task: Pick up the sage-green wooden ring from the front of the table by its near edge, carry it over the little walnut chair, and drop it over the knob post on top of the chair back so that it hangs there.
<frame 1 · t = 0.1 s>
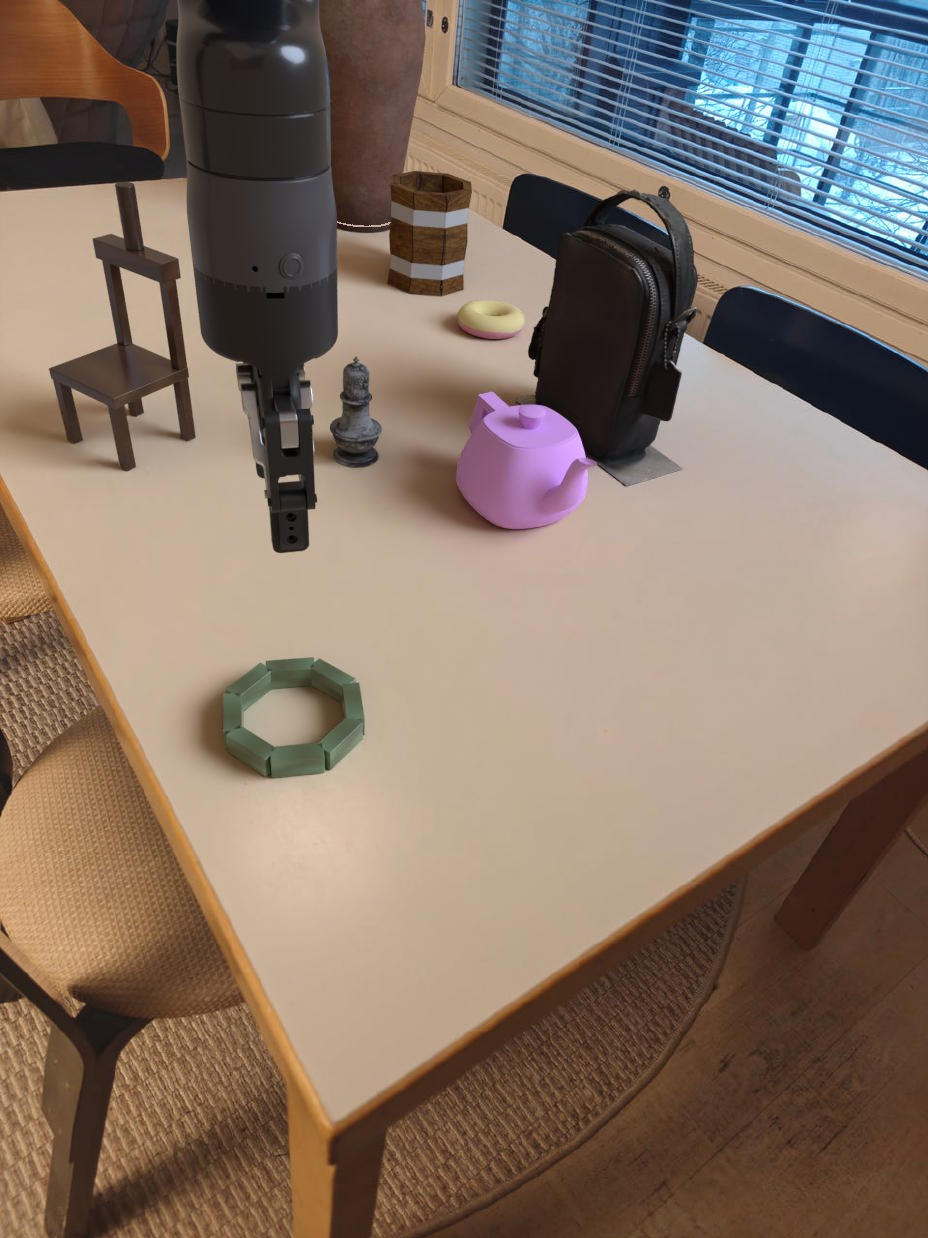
hand: (281, 510, 56), 19 cm above the table, tool pointing down, fingers open, 8 cm apart
chair: (132, 438, 98), on the table
shoulder bag: (594, 435, 108), on the table
wooden barrel: (419, 275, 145), on the table
vase: (357, 218, 165), on the table
teapot: (521, 505, 94), on the table
donut: (489, 330, 130), on the table
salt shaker: (355, 456, 99), on the table
ring: (294, 723, 68), on the table
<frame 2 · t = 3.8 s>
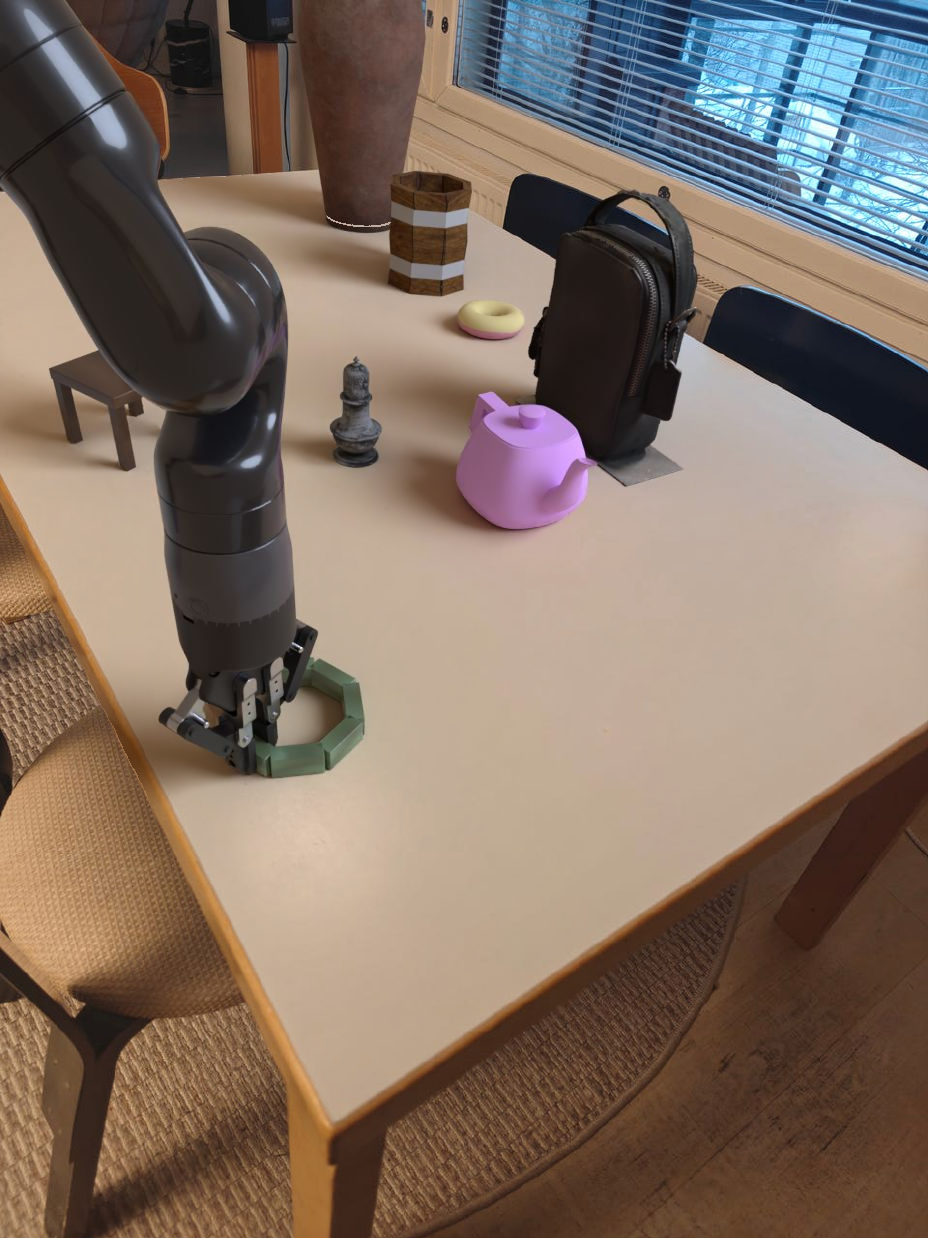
hand: (253, 758, 65), 0 cm above the table, tool pointing down, fingers closed on ring, 1 cm apart
ring: (294, 722, 68), on the table, touching gripper
everything else where it was.
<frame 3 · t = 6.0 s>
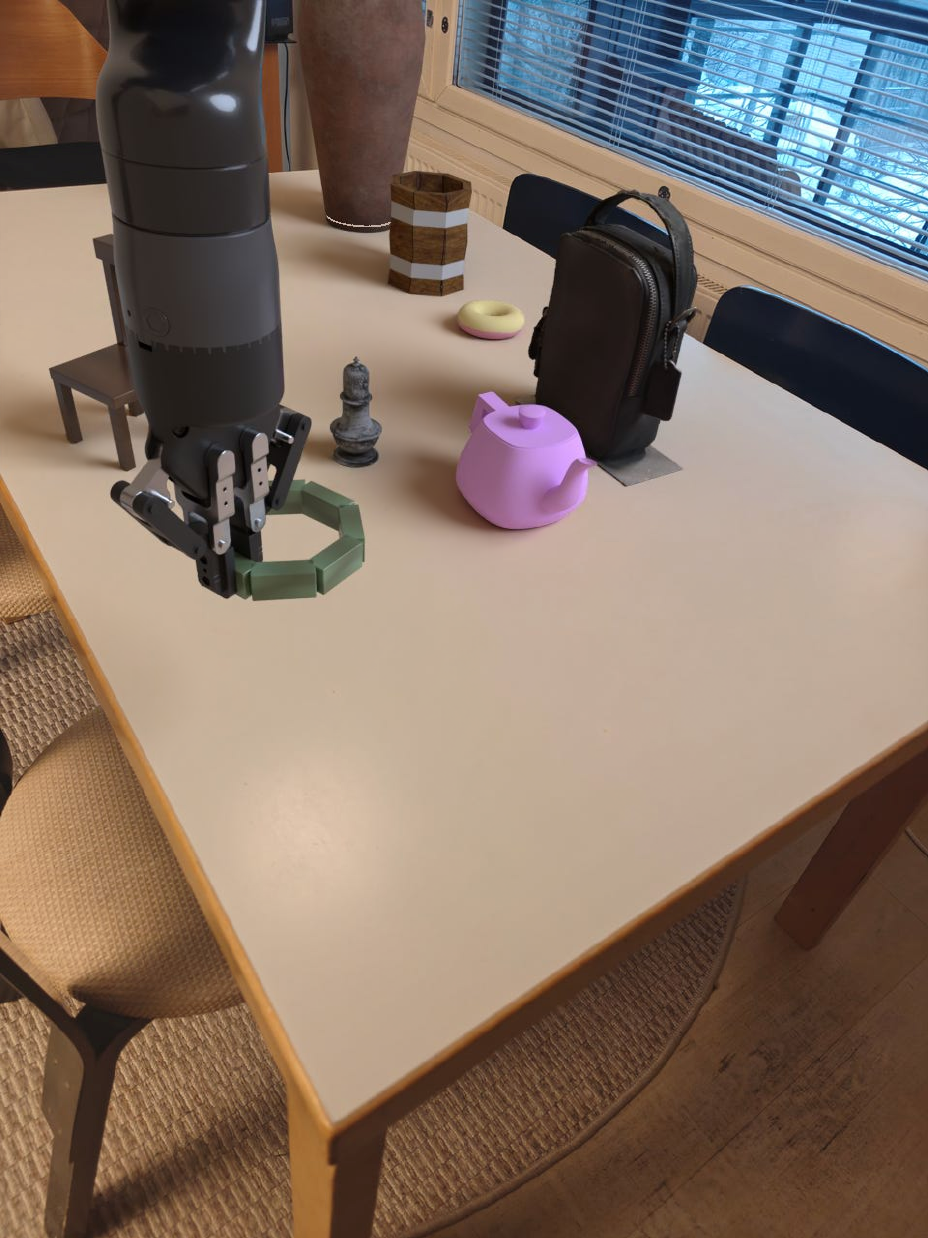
hand: (232, 582, 54), 17 cm above the table, tool pointing down, fingers closed on ring, 1 cm apart
ring: (281, 548, 57), point 17 cm above the table, touching gripper
everything else where it was.
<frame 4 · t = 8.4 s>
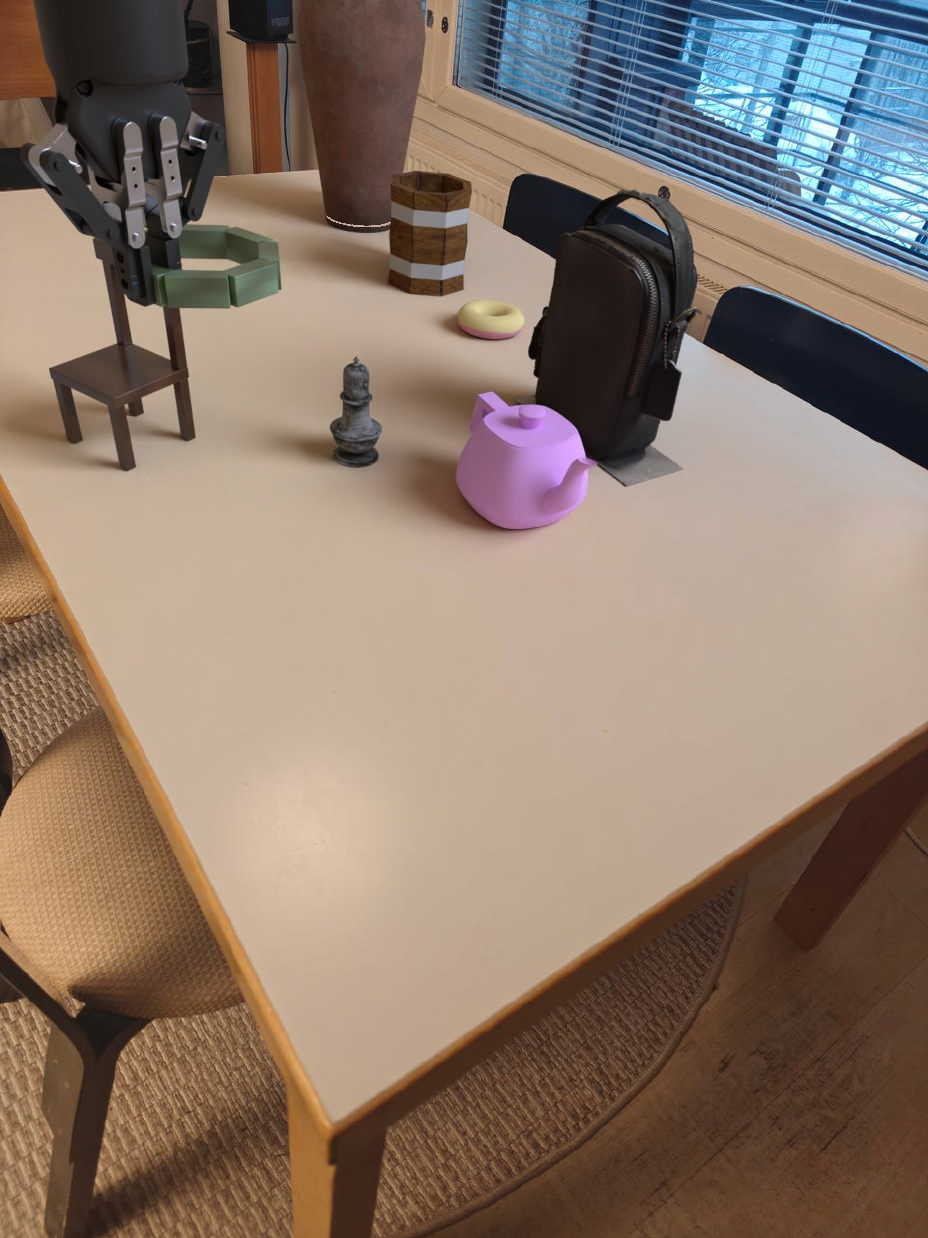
hand: (153, 297, 56), 29 cm above the table, tool pointing down, fingers closed on ring, 1 cm apart
ring: (202, 278, 59), point 29 cm above the table, touching gripper
everything else where it was.
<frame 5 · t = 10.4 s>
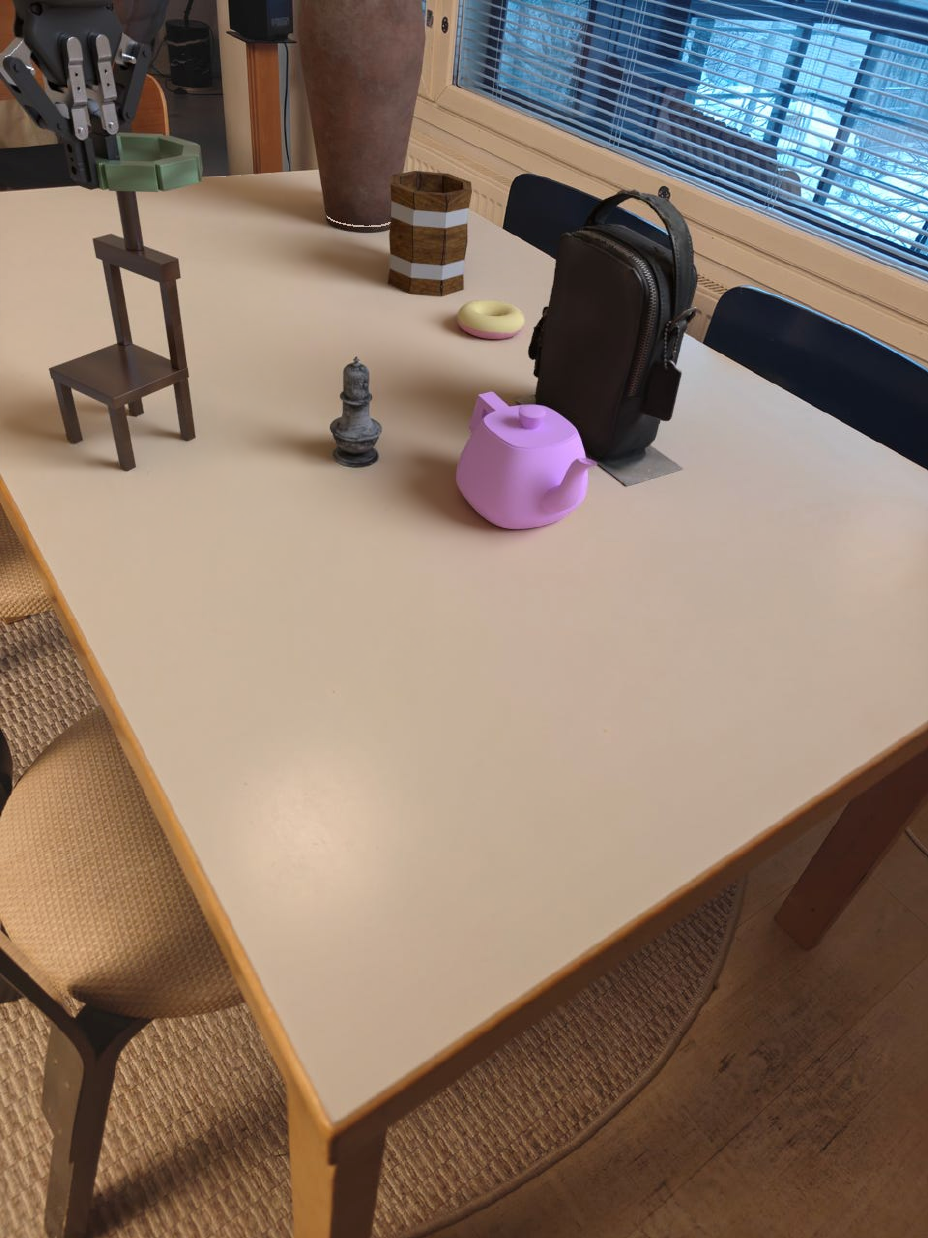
hand: (98, 183, 72), 29 cm above the table, tool pointing down, fingers closed on ring, 1 cm apart
ring: (139, 173, 75), point 29 cm above the table, touching gripper
everything else where it was.
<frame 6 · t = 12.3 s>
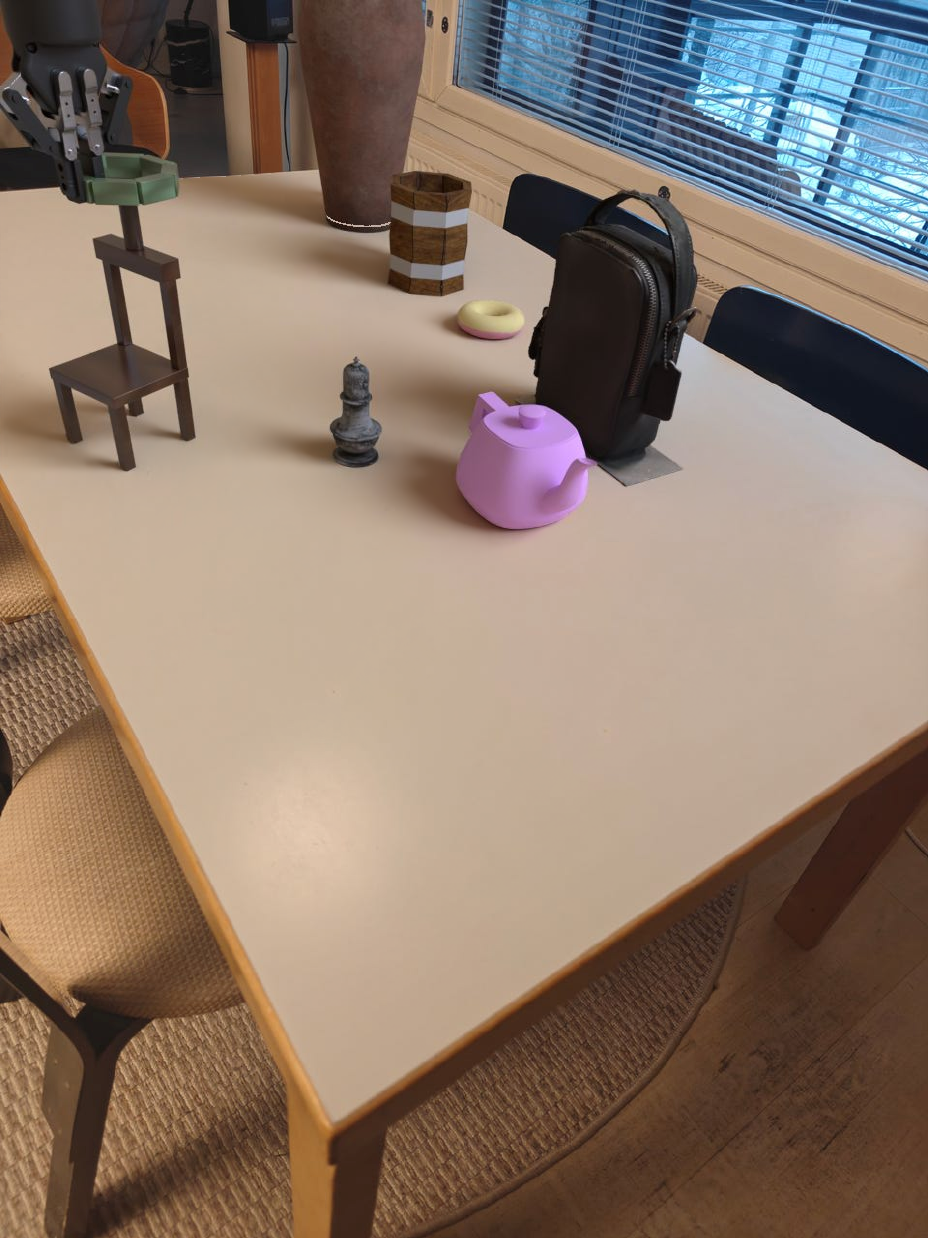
hand: (85, 198, 81), 25 cm above the table, tool pointing down, fingers closed on ring, 1 cm apart
ring: (122, 189, 84), point 25 cm above the table, touching gripper
everything else where it was.
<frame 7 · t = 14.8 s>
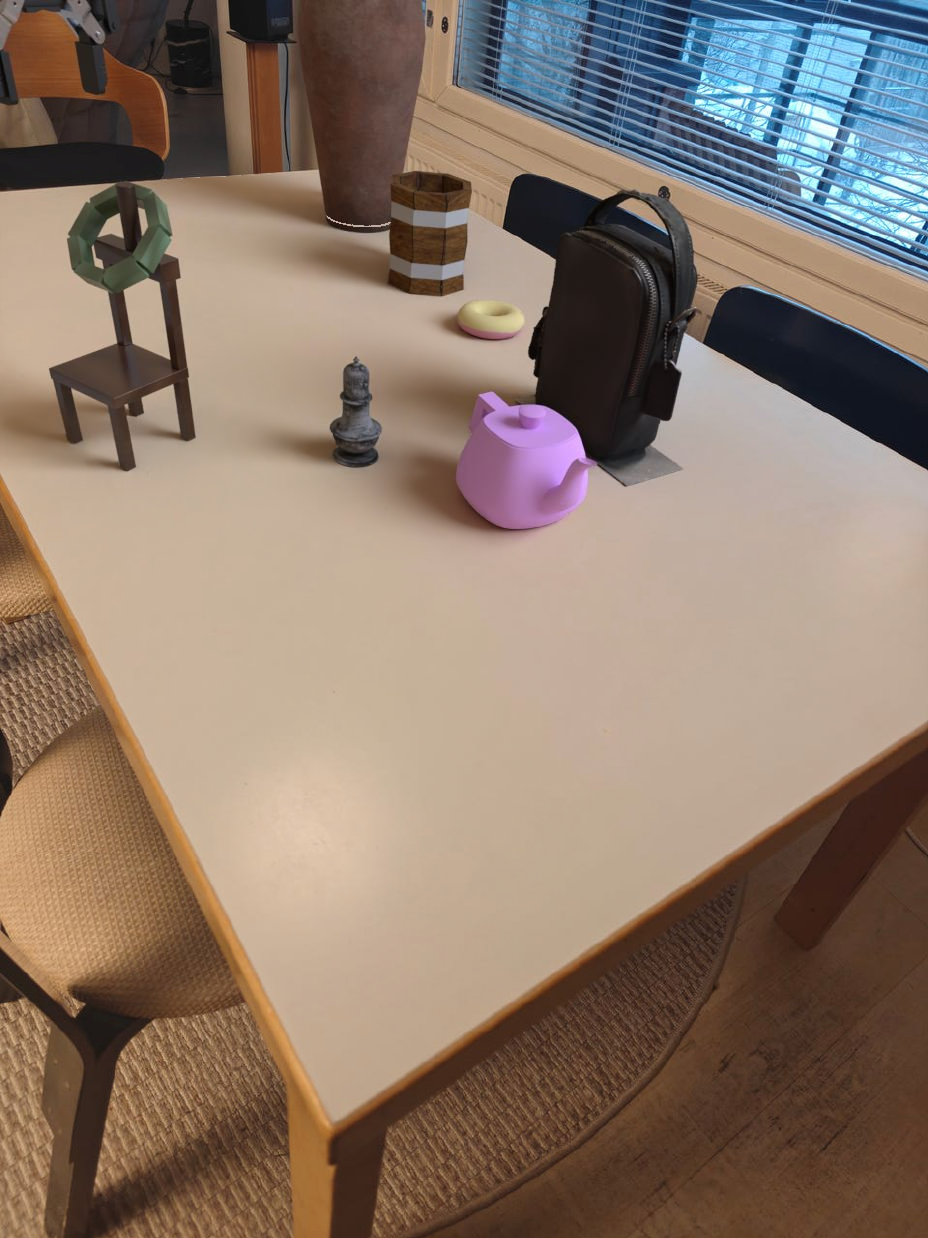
hand: (52, 98, 73), 34 cm above the table, tool pointing down, fingers open, 8 cm apart
ring: (125, 243, 87), point 21 cm above the table, tilted 42°, touching chair
everything else where it was.
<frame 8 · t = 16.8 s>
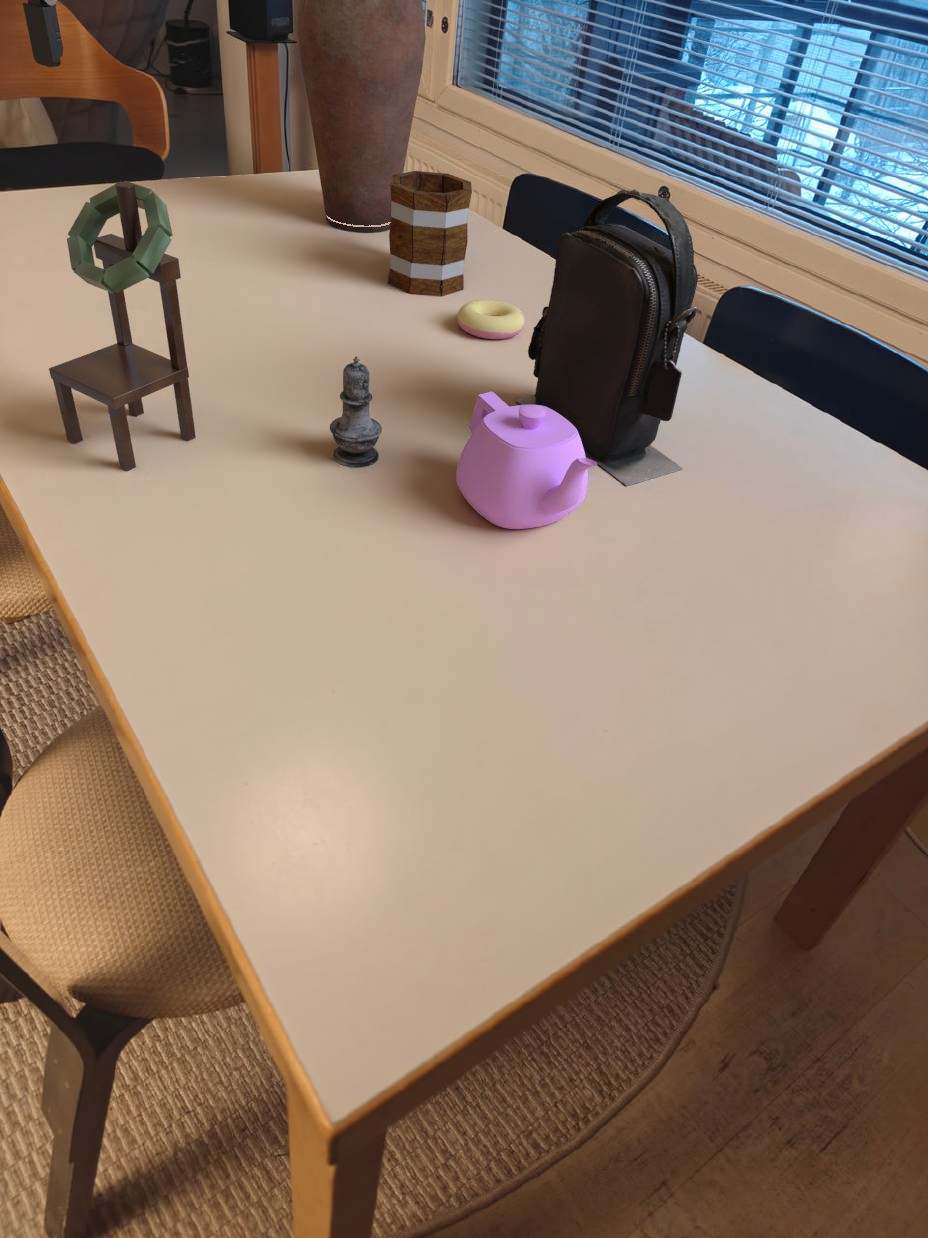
nothing on the table moved.
at the end: ring 0.7 cm from the target spot on the chair, point 20.5 cm above the chair's base; the gripper is holding nothing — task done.
